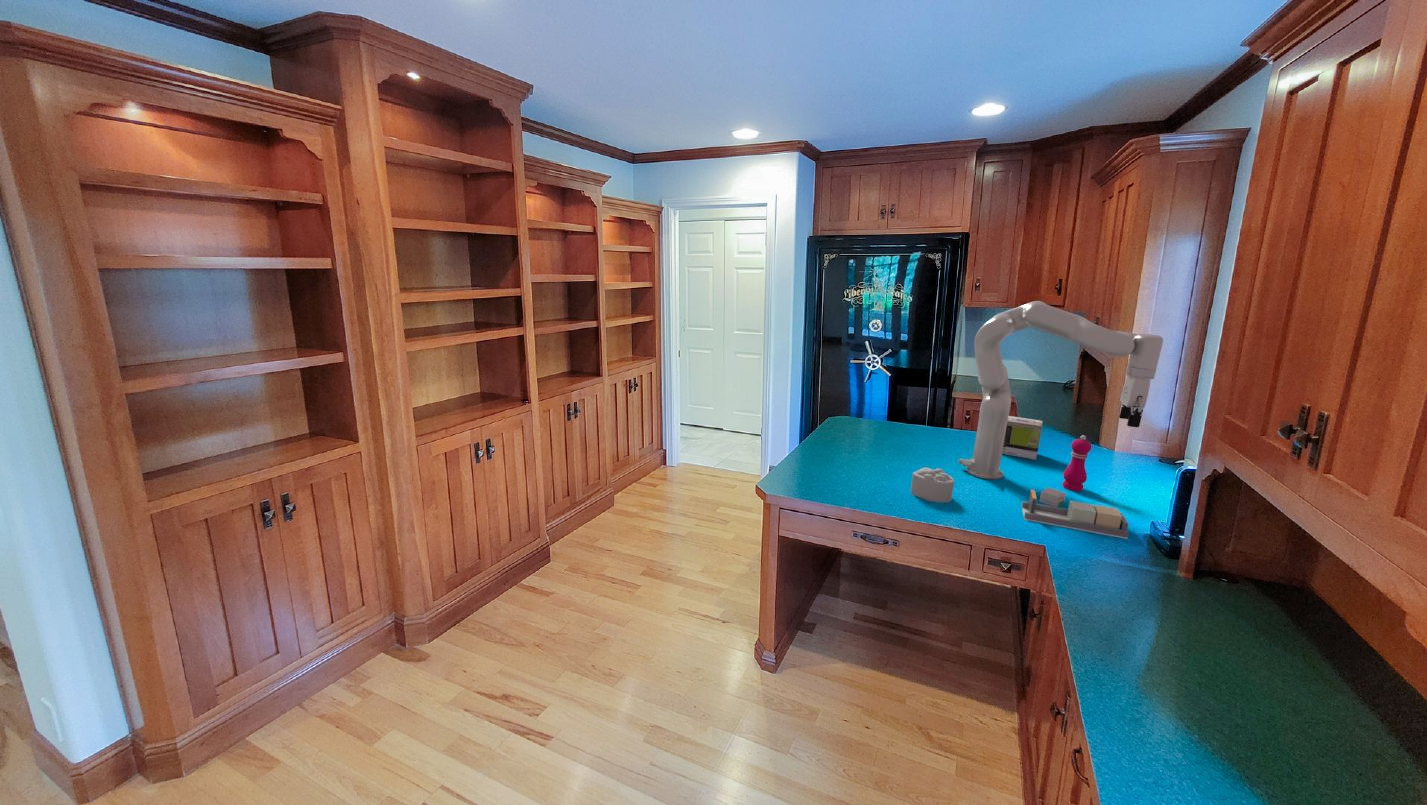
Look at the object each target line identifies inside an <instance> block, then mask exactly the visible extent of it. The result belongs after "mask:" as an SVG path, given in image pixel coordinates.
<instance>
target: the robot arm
mask: <svg viewBox="0 0 1427 805" xmlns="http://www.w3.org/2000/svg"><path fill="white" fill-rule="evenodd" d="M1028 328H1029V329H1030V328H1034V329H1036V330H1040V331H1042V332H1046V333H1049V334H1052V335H1054V336H1057V337H1060V338H1062V339H1063V340H1064V339H1065V340H1067V341H1069V342H1071V343H1075V344H1078V345H1080V346H1081V345H1082V346H1083V347H1086V348H1088V349H1091V350H1094V351H1096V352H1099V353H1102V354H1106V355H1108V356H1111V357H1114V358H1123V357H1127V356H1129V360H1128V364H1127V368H1126V372H1125V377H1126V378H1125V380H1124V383H1123V388H1122V389H1121V390H1122V392H1121V395H1120V397H1119V402H1121V408H1120V412H1119V416H1118V417H1119V419H1122V420H1123V419H1125V420H1127V424H1126V426H1127V427H1130V428H1131V427H1132V428H1139V427H1140V426H1141V420H1142V418H1143V412H1144V408H1146V405H1147V401H1148V397H1149V390H1150V385H1151V380H1154V379H1155V377H1156V372H1157V369H1158V368H1157V367H1158V364H1159V359H1160V355H1161V353H1162V352H1161V351H1162V347H1163V345H1164V344H1163V343H1164V338H1163V337H1162V336H1160V335H1157V334H1150V333H1139V334H1138V333H1132V332H1128V331H1121V330H1112V329H1109V328H1106V327H1103V326H1101V325H1098V324H1095V323H1094V322H1092V321H1090V320H1088V319H1087V318H1085V317H1083V316H1082V315H1079V314H1075V313H1073V312H1069V311H1066V310H1063V309H1060V308H1058V307H1054V306H1053V305H1052V306H1051V305H1050V304H1047V303H1045V302H1044V301H1041V300H1034V301H1030V302H1028V303H1025V304H1022V305H1020V306H1018V307H1014V308H1011V309H1007V310H1005V311H1002V312H999V313H997V314H996V315H994V316H993V317H991V318H990V319H989V320H987V321H986V322H985V323H984V324H983V325H982V326H981V327H980V328H979V329H978V331H977V332H976V335H975V337H974V341H973V342H974V344H973V345H974V354H975V363H976V371H977V380H978V383H979V385H980V386H981V392H982V397H983V398H982V399H981V403H980V405H979V406H980V408H979V416H978V422H977V429H976V435H975V440H974V441H975V442H974V448H973V453H972V457H971V458H970V459H964V458H959V460H958V464H961V465H962V467H963V466H964V467H966V472H967V473H968V474H969V475H971V476H974V477H977V478H980V479H985V480H1000V479H1002V478H1003V476H1004V472H1003V471H1002V470H1000V467H1001V462H1002V461H1001V460H1002V455H1003V454H1002V450H1003V444H1004V439H1005V433H1006V427H1007V421H1008V416H1010V412H1011V406H1012V405H1011V404H1012V392H1011V388H1010V380H1009V373H1008V369H1007V367H1006V365H1005V364H1004V363H1003V357H1002V349H1001V343H1002V341H1003V340H1005V339H1006V338H1007V337H1009V336H1010V335H1011V334H1013V333H1016V332H1020V331H1023V330H1025V329H1028Z"/></svg>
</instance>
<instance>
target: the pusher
mask: <svg viewBox="0 0 1427 805" xmlns="http://www.w3.org/2000/svg"><path fill="white" fill-rule="evenodd" d="M1037 501H1038V500H1037V494H1036V491H1035V489H1030V494H1029V499H1028V502H1029V503H1028V512H1029V513H1034V510H1035V505H1036V504H1037Z"/></svg>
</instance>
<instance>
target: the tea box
mask: <svg viewBox="0 0 1427 805" xmlns="http://www.w3.org/2000/svg"><path fill="white" fill-rule="evenodd" d="M1042 428H1043V420H1040V419H1033V418H1025V417H1021V416H1020V417H1019V416H1012V415H1009V416H1008V421H1007V427H1006V433H1005V439H1004V444H1003V450H1002V455H1008V456H1014V457H1019V458H1023V459H1024V458H1025V459H1030V460H1034V461H1036V460H1037V457H1038V452H1039V447H1040V442H1041V435H1042Z"/></svg>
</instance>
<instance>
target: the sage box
mask: <svg viewBox="0 0 1427 805" xmlns="http://www.w3.org/2000/svg"><path fill="white" fill-rule="evenodd" d="M1067 509H1068V512H1067V519H1068V520H1072V521H1078V522H1083V523H1089V524H1094V520H1095V516H1096V511H1095V509H1094V504H1091V503H1085V502H1081V501H1076V500H1075V501H1074V500H1069V504H1068V508H1067Z"/></svg>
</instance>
